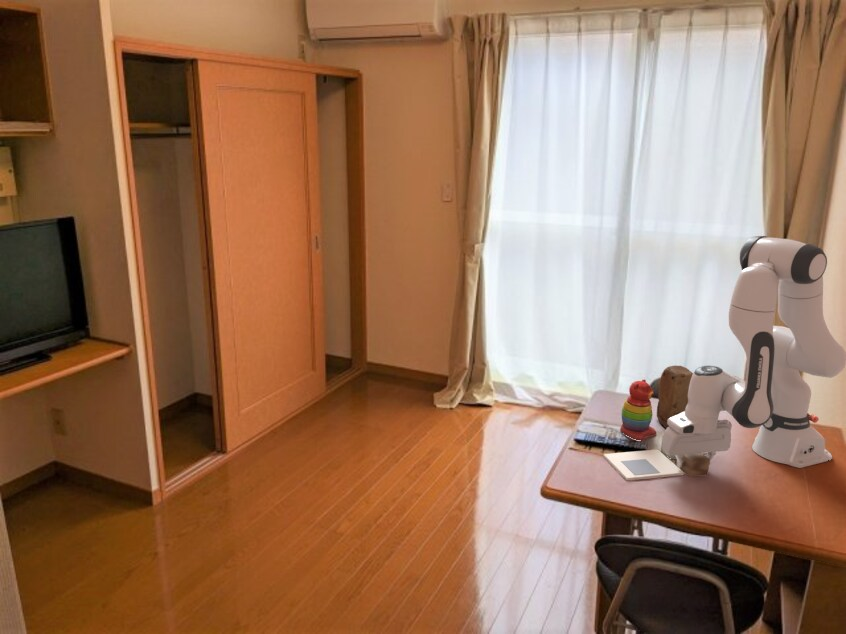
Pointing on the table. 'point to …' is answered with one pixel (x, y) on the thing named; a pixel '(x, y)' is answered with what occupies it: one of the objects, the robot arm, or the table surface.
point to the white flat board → (643, 464)
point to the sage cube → (665, 452)
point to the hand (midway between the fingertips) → (693, 465)
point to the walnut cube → (695, 464)
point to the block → (673, 392)
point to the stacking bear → (638, 412)
